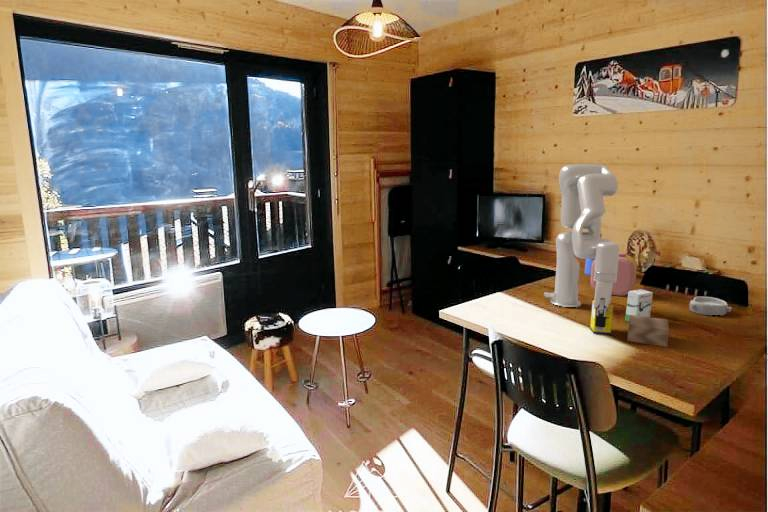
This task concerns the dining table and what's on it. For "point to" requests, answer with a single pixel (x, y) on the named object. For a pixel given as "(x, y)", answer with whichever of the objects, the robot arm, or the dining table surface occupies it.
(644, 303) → the ink box
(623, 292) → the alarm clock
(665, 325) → the walnut block
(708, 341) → the dining table surface
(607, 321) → the supplement box
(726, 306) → the dish
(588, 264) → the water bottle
